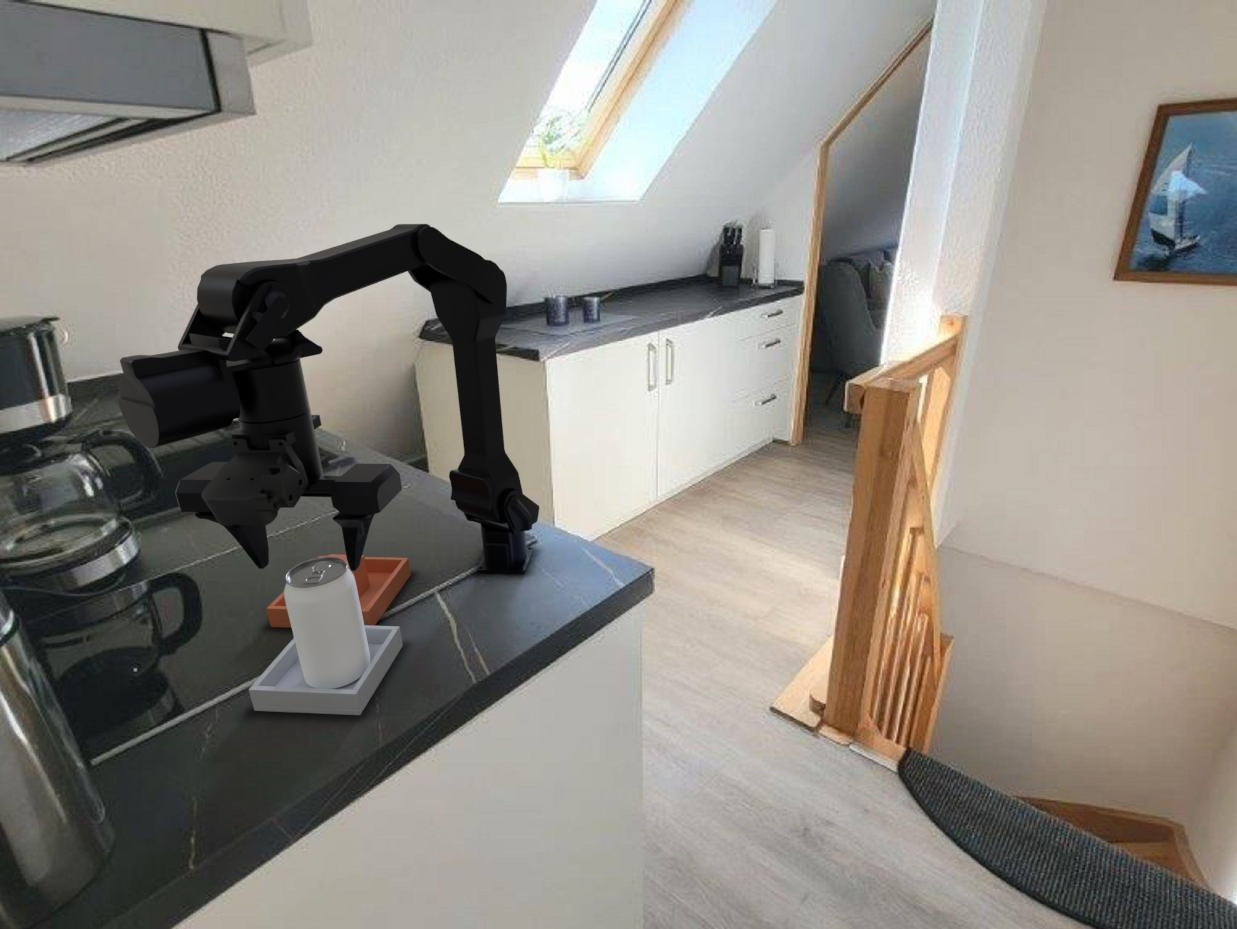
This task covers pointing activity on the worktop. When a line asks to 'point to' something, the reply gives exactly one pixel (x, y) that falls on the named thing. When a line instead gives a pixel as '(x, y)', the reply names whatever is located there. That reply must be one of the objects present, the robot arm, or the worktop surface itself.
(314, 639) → the can
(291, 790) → the worktop surface
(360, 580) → the block
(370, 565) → the terracotta tray
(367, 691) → the steel tray
